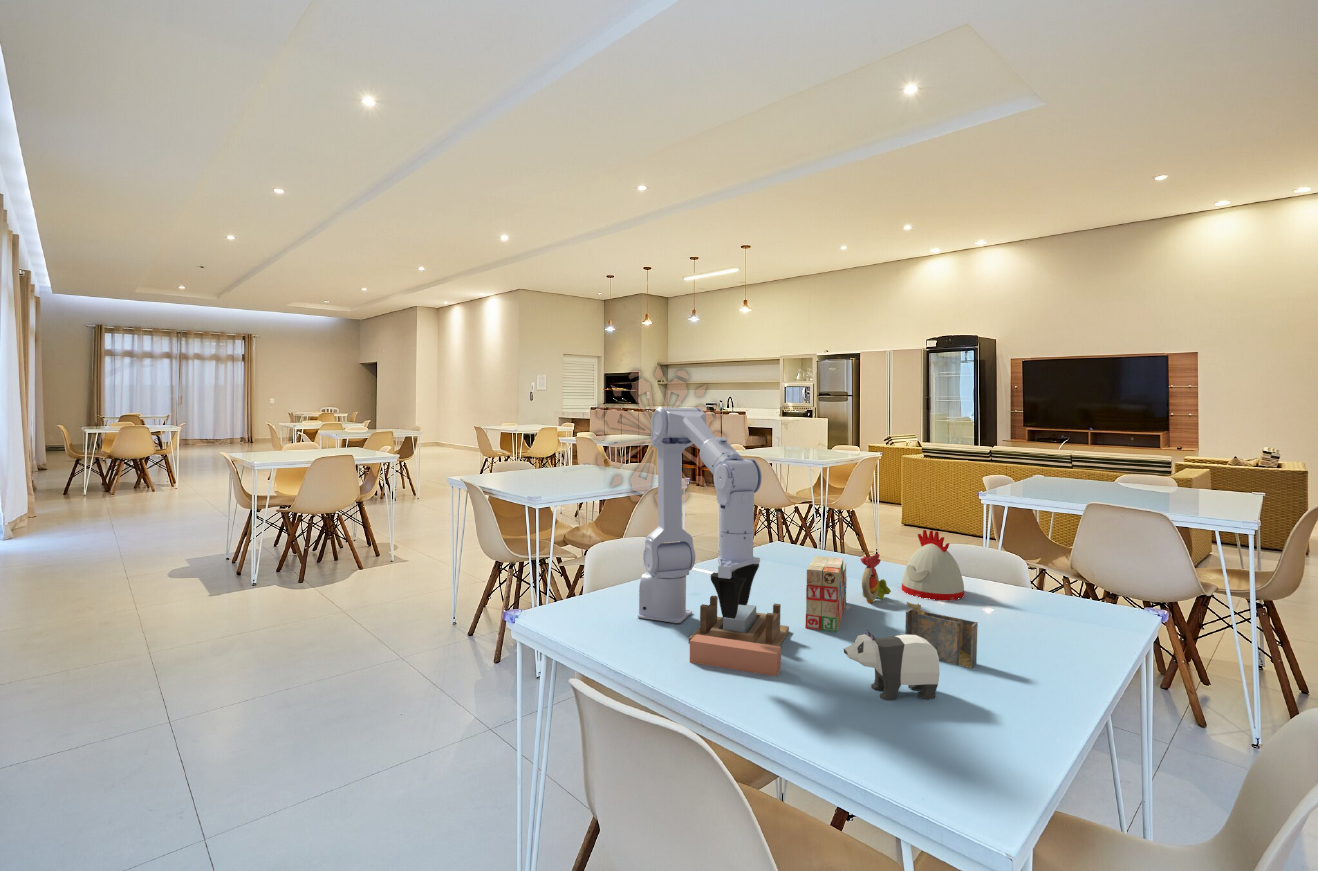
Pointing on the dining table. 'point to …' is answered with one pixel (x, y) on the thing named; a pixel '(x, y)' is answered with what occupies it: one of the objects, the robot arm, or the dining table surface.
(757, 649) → the terracotta rectangular bar
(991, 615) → the dining table surface
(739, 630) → the pale grey pillar block
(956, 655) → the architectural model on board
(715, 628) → the jig
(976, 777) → the dining table surface
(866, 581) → the bird rattle
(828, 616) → the stack of blocks
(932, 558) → the kitchen timer
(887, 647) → the giant panda
